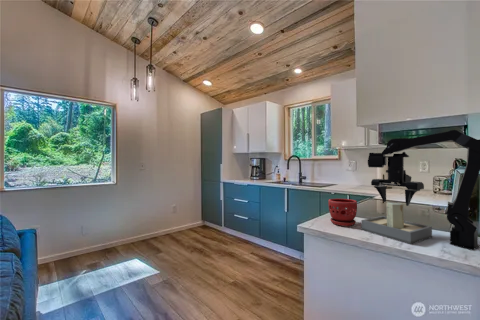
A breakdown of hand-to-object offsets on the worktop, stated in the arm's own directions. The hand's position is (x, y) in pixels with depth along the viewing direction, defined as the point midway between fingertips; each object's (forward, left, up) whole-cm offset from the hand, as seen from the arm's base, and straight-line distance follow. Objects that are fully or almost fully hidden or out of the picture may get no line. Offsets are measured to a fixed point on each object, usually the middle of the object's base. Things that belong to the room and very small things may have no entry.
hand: (395, 203), depth 99 cm
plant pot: (+21, +7, -13) cm, 26 cm away
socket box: (0, 0, -13) cm, 13 cm away
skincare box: (0, 0, -12) cm, 12 cm away
